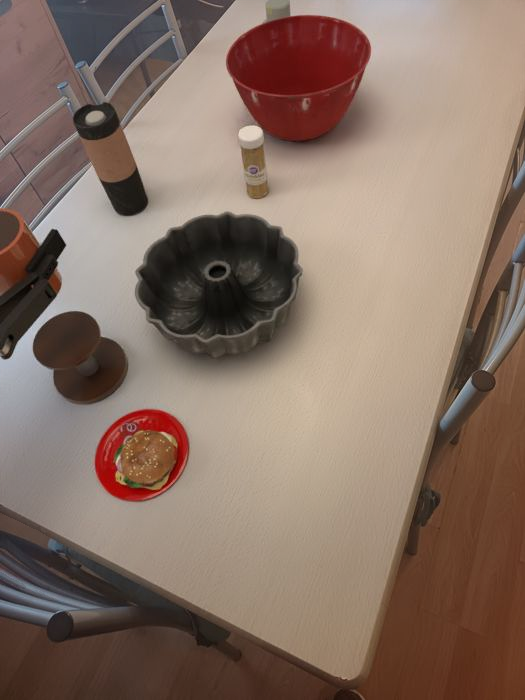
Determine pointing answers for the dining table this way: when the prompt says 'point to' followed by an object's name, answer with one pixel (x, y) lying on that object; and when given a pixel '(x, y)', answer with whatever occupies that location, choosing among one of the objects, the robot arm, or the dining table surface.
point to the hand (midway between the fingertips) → (28, 232)
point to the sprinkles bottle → (254, 160)
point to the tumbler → (18, 251)
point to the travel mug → (111, 157)
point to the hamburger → (141, 455)
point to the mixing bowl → (299, 73)
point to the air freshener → (277, 9)
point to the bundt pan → (219, 283)
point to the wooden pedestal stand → (80, 357)
